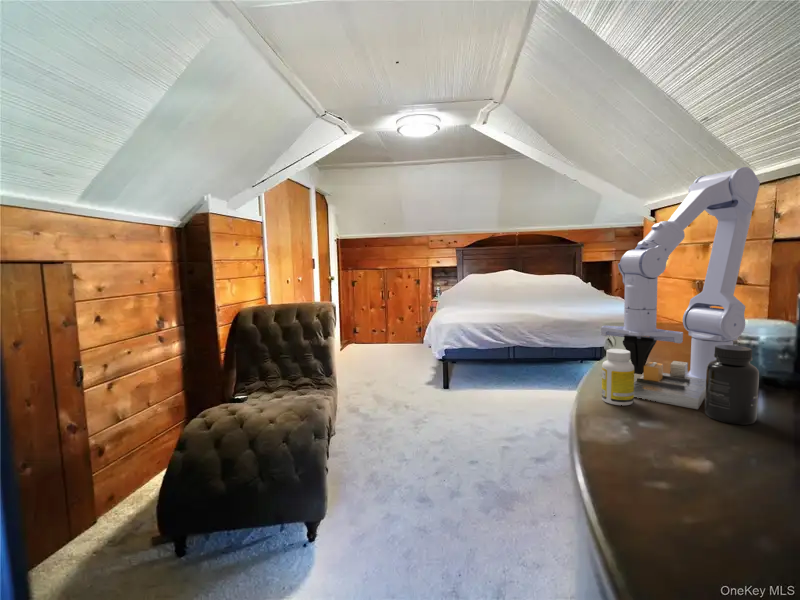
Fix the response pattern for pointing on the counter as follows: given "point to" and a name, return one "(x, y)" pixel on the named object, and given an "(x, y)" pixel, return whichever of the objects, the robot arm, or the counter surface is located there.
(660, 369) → the orange cuboid
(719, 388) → the supplement bottle
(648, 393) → the strip
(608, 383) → the supplement bottle
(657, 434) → the counter surface
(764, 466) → the counter surface
